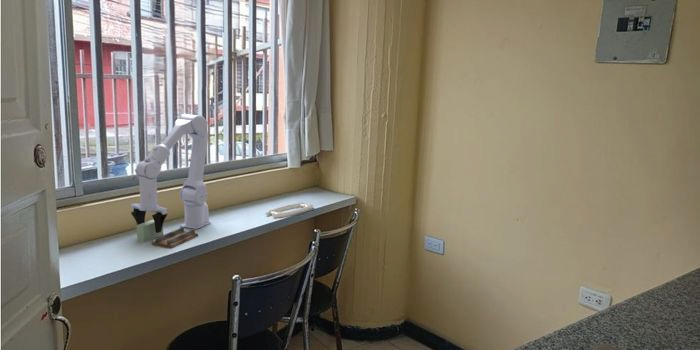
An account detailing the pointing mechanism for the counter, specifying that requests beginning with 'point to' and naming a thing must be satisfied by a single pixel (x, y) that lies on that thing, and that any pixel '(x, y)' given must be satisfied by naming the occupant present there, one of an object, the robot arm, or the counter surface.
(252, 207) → the counter surface
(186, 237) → the cabinet track
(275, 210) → the white rectangular tray
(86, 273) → the counter surface
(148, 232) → the pale green block
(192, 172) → the robot arm
